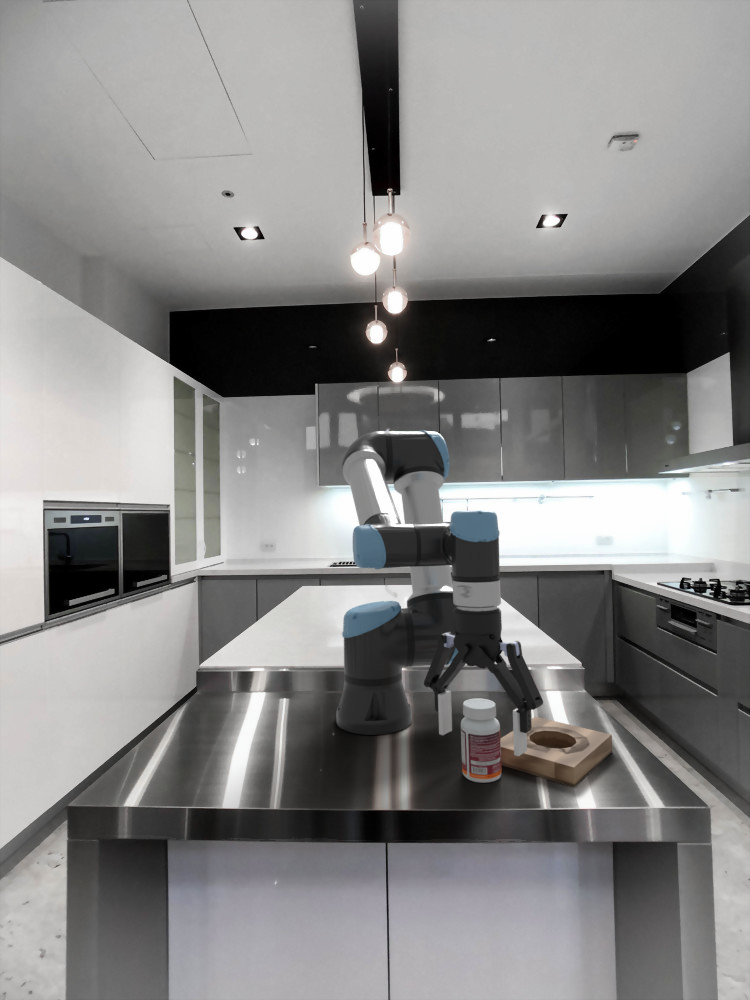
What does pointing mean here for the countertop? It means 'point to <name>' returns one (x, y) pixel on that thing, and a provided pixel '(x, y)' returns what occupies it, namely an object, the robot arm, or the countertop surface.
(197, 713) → the countertop surface
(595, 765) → the socket block
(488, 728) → the pill bottle
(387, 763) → the countertop surface
